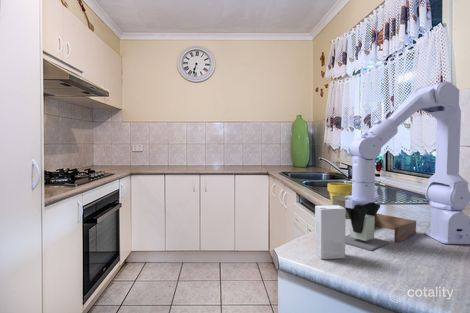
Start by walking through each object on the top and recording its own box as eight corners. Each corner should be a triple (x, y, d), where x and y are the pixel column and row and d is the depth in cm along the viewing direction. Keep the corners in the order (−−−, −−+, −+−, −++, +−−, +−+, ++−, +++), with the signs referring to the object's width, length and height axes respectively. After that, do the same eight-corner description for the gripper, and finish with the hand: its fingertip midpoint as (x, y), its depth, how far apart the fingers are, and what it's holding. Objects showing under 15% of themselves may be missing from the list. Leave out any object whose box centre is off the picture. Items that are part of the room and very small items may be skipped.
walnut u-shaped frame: (415, 233, 88) (416, 220, 87) (397, 242, 80) (397, 228, 80) (374, 224, 97) (374, 213, 97) (354, 231, 90) (354, 219, 89)
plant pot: (328, 202, 135) (328, 181, 134) (352, 204, 131) (352, 182, 131) (326, 207, 125) (326, 184, 125) (352, 209, 121) (352, 185, 121)
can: (329, 217, 108) (330, 199, 107) (333, 211, 118) (333, 194, 118) (365, 221, 102) (365, 202, 102) (365, 214, 113) (366, 196, 113)
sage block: (374, 237, 80) (374, 216, 80) (365, 240, 77) (366, 218, 77) (358, 233, 83) (358, 213, 83) (350, 236, 81) (350, 215, 80)
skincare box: (337, 252, 72) (338, 204, 72) (346, 259, 68) (347, 208, 67) (313, 253, 72) (314, 204, 71) (320, 260, 67) (321, 208, 67)
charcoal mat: (389, 242, 79) (389, 241, 79) (371, 251, 73) (371, 249, 73) (354, 234, 87) (354, 232, 87) (335, 240, 81) (335, 239, 81)
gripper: (362, 178, 87) (361, 223, 88) (335, 182, 78) (334, 232, 79) (386, 180, 82) (385, 228, 82) (360, 185, 73) (359, 238, 73)
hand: (362, 230), depth 80 cm, fingers closed on sage block, 4 cm apart
